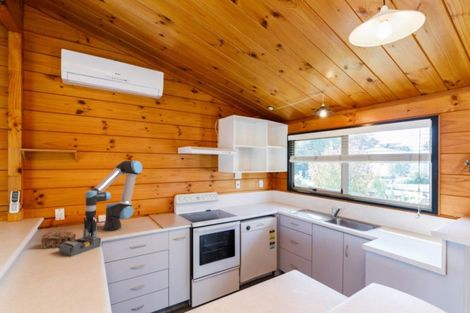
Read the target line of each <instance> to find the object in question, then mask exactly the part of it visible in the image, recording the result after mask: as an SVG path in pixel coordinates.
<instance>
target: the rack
mask: <svg viewBox="0 0 470 313" xmlns="http://www.w3.org/2000/svg"><path fill="white" fill-rule="evenodd" d="M101 241H102V238H101V237H98V236H97V237H93V236H88V235H87V236H84V237H83V236H82V237H80V238H75V240H72V241H67V242H64V243H62V244H59V248H58V254H61V255H64V256H67V257H74V256H77V255H80V254H84V253H85V252H88V251H91V250H94V249H97V248H100V247H101V244H102V243H101Z"/></svg>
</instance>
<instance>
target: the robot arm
mask: <svg viewBox="0 0 470 313" xmlns="http://www.w3.org/2000/svg"><path fill="white" fill-rule="evenodd" d="M142 171H143V165H142V163H141V162H140V161H138V160H124V161H121V162H120V163H118V164H117V165H116V166H115V167H114V168H113V170H112V171H111V172H110V173H109V174H108V175H106V177H105V178H103V179H102V180H101V181H100V182H99V183H98V184H97V185H96V186H95V187H94V188H92V189H91V190H88V191H86V192H85V194H84V196H85V208H84V210H85V212H84V216H85V217H83V229H85V228H89V227H90V234H89V236H94V232H95V231H96V226H97V225H98V224H97V222H98V219H97V218H96V217H95V216H96V215H97V205H98V204H97V203H100V202H106V201H109V200H111V198H112V196H111V195H112V194H111V192H109V191H106V189H108V188H109V187H110V186H111V185H112V184H113V183H114V182H115V181H116V180H117V179H118V178H119V177H120V176H122V175H125V176H126V177H125V180H124V185H123V190H122V193H121V199H120V201H119V202H114V203H107V204H106V206H105V222H104V225H103V227H102V229H103V230H104V231H116V230H119V228H120V229H121V228H122V221H121V220H128V219H130V218H131V217H132V216H133V214H134V207H132V206H133V204H132V198H133V194H134V188H135V185H136V180H137V177H139V174H140V173H142ZM115 229H116V230H115Z"/></svg>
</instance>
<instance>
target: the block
mask: <svg viewBox="0 0 470 313" xmlns="http://www.w3.org/2000/svg"><path fill="white" fill-rule="evenodd" d="M97 231H98V227H97V225H96V231H95V232H94V236H93V237H98V234H97ZM89 234H90V227H89V228H85V229H84V228H83V233H82V235H83V236H82V238H83V237H84V236H87V235H88V236H89Z"/></svg>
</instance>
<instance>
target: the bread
mask: <svg viewBox="0 0 470 313" xmlns="http://www.w3.org/2000/svg"><path fill="white" fill-rule="evenodd" d="M76 237H77V235H76V233H74V232H73V231H72V232H71V231H56V232H47V233H45V234H43V235H42V236H41V240H40V244H41V246H40V247H41V249H59V244H62V243H64V242H67V241H72V240H76Z"/></svg>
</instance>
